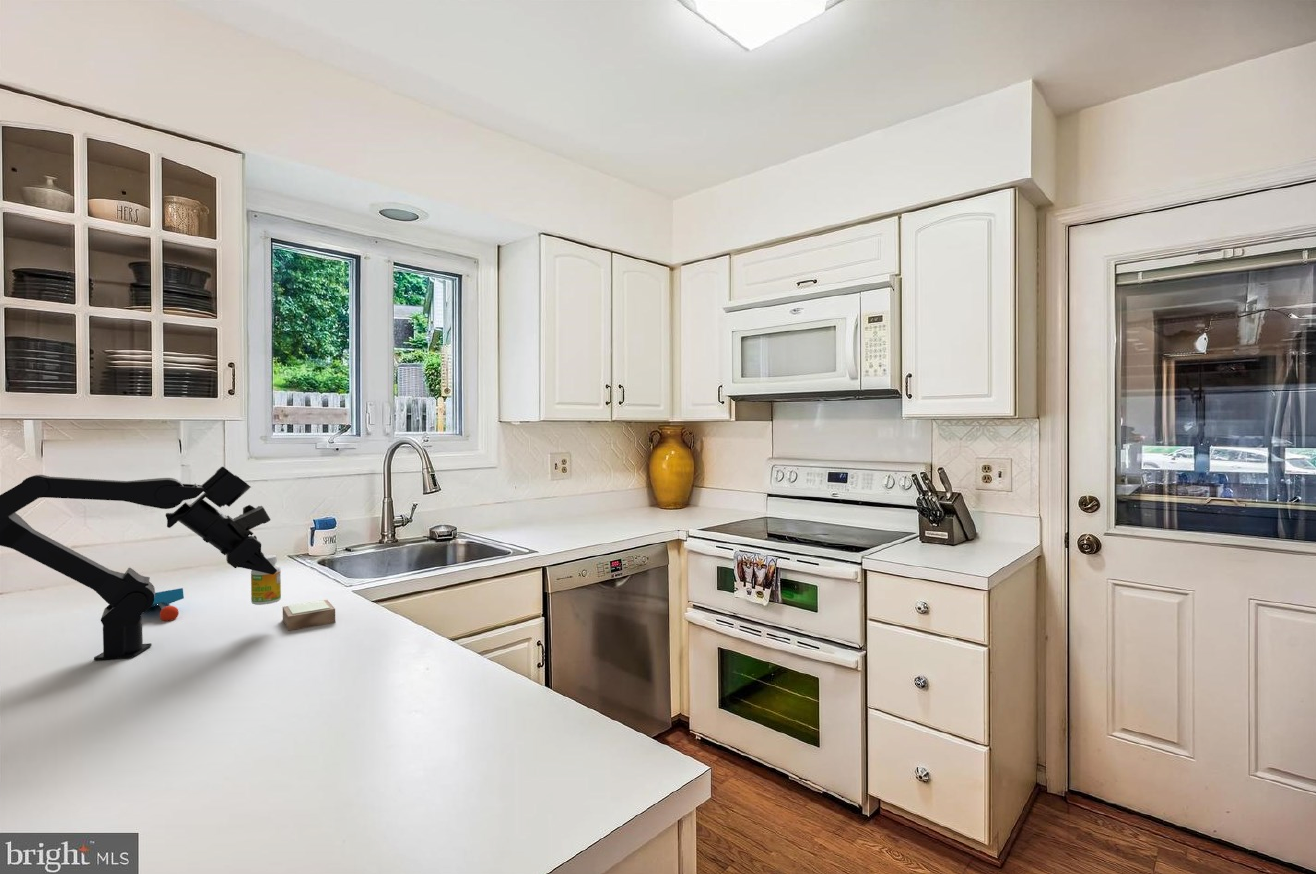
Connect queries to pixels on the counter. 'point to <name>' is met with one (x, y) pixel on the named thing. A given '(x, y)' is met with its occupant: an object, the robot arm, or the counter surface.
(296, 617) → the base brick
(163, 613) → the lever
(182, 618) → the counter surface
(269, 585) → the supplement bottle
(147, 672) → the counter surface
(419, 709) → the counter surface
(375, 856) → the counter surface
